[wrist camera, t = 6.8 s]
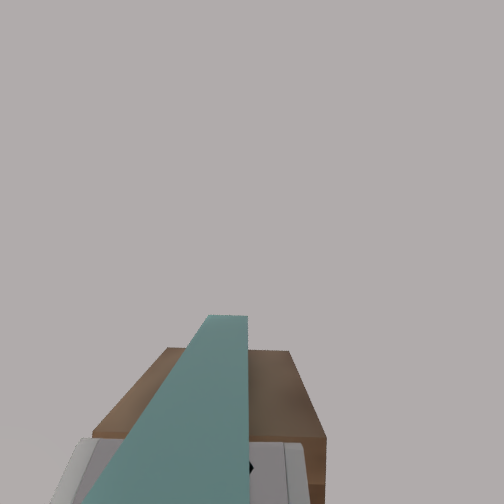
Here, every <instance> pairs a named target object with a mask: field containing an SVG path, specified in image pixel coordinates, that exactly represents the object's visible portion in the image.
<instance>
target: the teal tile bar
mask: <svg viewBox="0 0 504 504" xmlns="http://www.w3.org/2000/svg"><path fill="white" fill-rule="evenodd" d="M81 504H250V495H249V400H248V316H231V315H229V316H228V315H208V317H207V318H206V320H205V321H204V323H203V324H202V325H201V327H200V329H199V330H198V331H197V333H196V334H195V336H194V337H193V339H192V340H191V342H190V343H189V345H188V346H187V348H186V349H185V351H184V352H183V354H182V355H181V357H180V358H179V359H178V361H177V362H176V364H175V365H174V367H173V368H172V370H171V371H170V373H169V374H168V376H167V377H166V379H165V380H164V382H163V383H162V385H161V386H160V388H159V389H158V391H157V392H156V393H155V395H154V396H153V398H152V399H151V401H150V402H149V404H148V405H147V407H146V408H145V410H144V411H143V413H142V414H141V416H140V417H139V419H138V420H137V422H136V423H135V424H134V426H133V427H132V429H131V430H130V432H129V433H128V435H127V436H126V438H125V439H124V441H123V442H122V444H121V445H120V447H119V448H118V450H117V451H116V453H115V454H114V456H113V457H112V458H111V460H110V461H109V463H108V464H107V466H106V467H105V469H104V470H103V472H102V473H101V475H100V476H99V478H98V479H97V481H96V482H95V484H94V485H93V487H92V488H91V489H90V491H89V492H88V494H87V495H86V497H85V498H84V500H83V501H82V503H81Z"/></svg>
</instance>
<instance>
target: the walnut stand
mask: <svg viewBox="0 0 504 504" xmlns="http://www.w3.org/2000/svg"><path fill="white" fill-rule="evenodd" d="M185 349H186V348H167V349H166V350H165V351H164V352H163V353H162V354H161V356H159V358H158V359H157V360H156V361H155V362H154V363H153V364H152V365H151V367H150V368H149V369H148V370H147V371H146V372H145V373H144V374H143V376H142V377H141V378H140V379H139V380H138V381H137V382H136V383H135V384H134V386H133V387H132V388H131V389H130V390H129V391H128V392H127V393H126V395H125V396H124V397H123V398H122V399H121V400H120V401H119V403H118V404H117V405H116V406H115V407H114V408H113V409H112V410H111V411H110V413H109V414H108V415H107V416H106V417H105V418H104V419H103V420H102V421H101V423H100V424H99V425H98V426H97V427H96V428H95V429H94V430H93V434H92V438H103V439H125V438H126V436H127V435H128V433H129V432H130V430H131V429H132V427H133V426H134V424H135V423H136V422H137V420H138V419H139V417H140V416H141V414H142V413H143V411H144V410H145V408H146V407H147V405H148V404H149V402H150V401H151V399H152V398H153V396H154V395H155V393H156V392H157V391H158V389H159V388H160V386H161V385H162V383H163V382H164V380H165V379H166V377H167V376H168V374H169V373H170V371H171V370H172V368H173V367H174V365H175V364H176V362H177V361H178V359H179V358H180V357H181V355H182V354H183V352H184V351H185ZM248 400H249V442H283V443H284V442H286V443H301V444H302V446H303V450H304V458H305V466H306V474H307V481H308V489H309V497H310V504H325V479H326V444H327V442H326V441H327V438H326V435H325V433H324V430H323V428H322V426H321V423H320V421H319V419H318V417H317V414H316V412H315V410H314V407H313V405H312V403H311V401H310V398H309V396H308V394H307V391H306V389H305V387H304V385H303V382H302V380H301V378H300V375H299V373H298V371H297V368H296V366H295V364H294V362H293V360H292V357H291V355H290V353H289V351H269V350H267V351H266V350H248Z"/></svg>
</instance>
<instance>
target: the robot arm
mask: <svg viewBox="0 0 504 504" xmlns="http://www.w3.org/2000/svg"><path fill="white" fill-rule="evenodd" d="M123 441H124V439H103V438H82V439H81V440H80V442H79V443H78V444H77V445H76V448H75V450H74V452H73V454H72V456H71V458H70V460H69V463H68V465H67V467H66V469H65V471H64V473H63V476H62V478H61V480H60V482H59V485H58V487H57V489H56V491H55V493H54V495H53V498H52V500H51V502H50V504H81V503H82V501H83V500H84V498H85V497H86V495H87V494H88V492H89V491H90V489H91V488H92V487H93V485H94V484H95V482H96V481H97V479H98V478H99V476H100V475H101V473H102V472H103V470H104V469H105V467H106V466H107V464H108V463H109V461H110V460H111V458H112V457H113V456H114V454H115V453H116V451H117V450H118V448H119V447H120V445H121V444H122V442H123ZM249 495H250V504H310V497H309V489H308V481H307V474H306V466H305V458H304V450H303V446H302V444H301V443H286V442H284V443H283V442H249Z"/></svg>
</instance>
